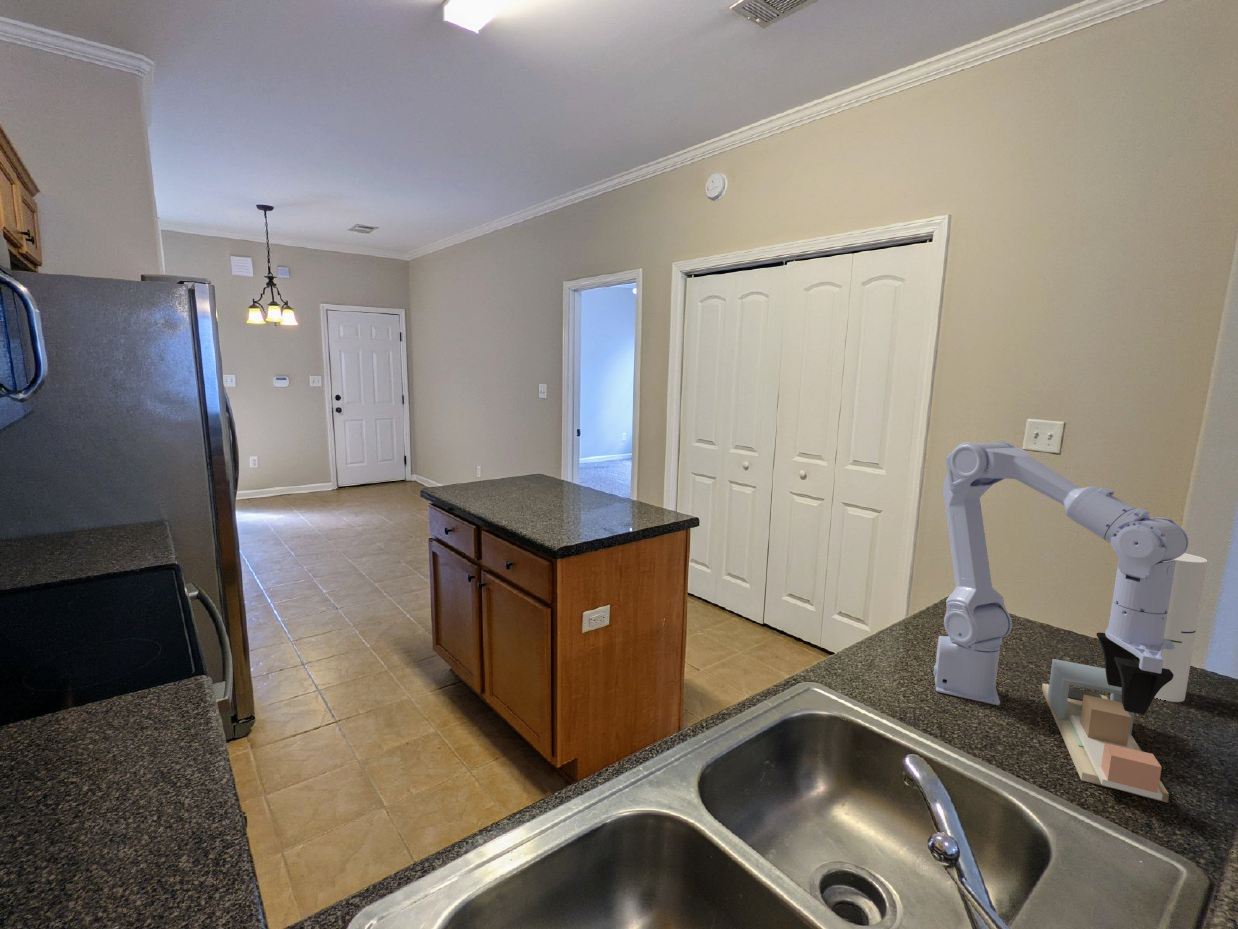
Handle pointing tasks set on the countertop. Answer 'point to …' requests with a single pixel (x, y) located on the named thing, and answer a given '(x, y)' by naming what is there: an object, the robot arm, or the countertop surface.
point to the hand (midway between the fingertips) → (1125, 698)
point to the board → (1074, 742)
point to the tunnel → (1078, 684)
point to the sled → (1115, 748)
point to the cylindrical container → (1182, 623)
